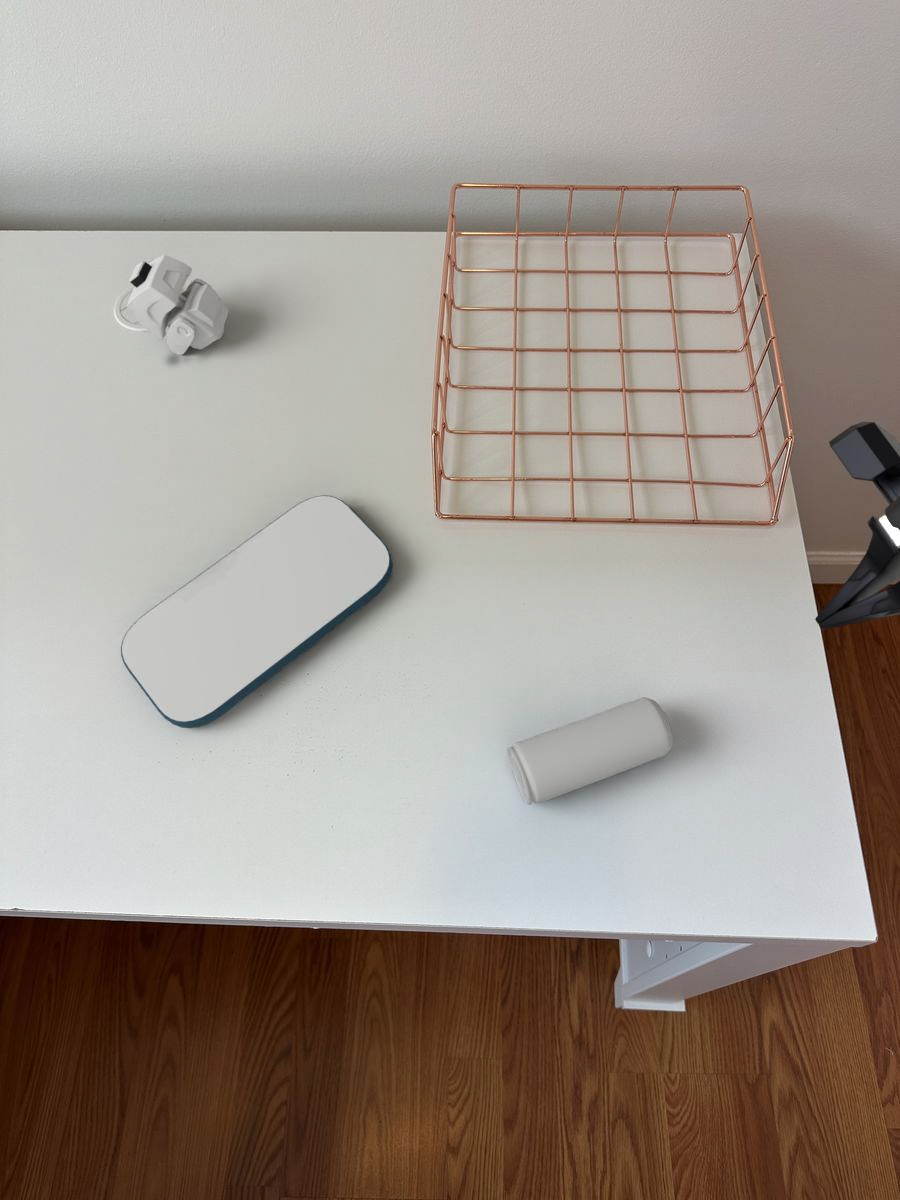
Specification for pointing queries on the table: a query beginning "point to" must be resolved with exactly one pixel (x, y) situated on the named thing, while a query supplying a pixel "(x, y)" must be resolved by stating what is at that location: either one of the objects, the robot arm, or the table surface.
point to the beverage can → (590, 750)
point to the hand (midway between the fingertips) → (819, 624)
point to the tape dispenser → (176, 305)
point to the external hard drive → (255, 611)
